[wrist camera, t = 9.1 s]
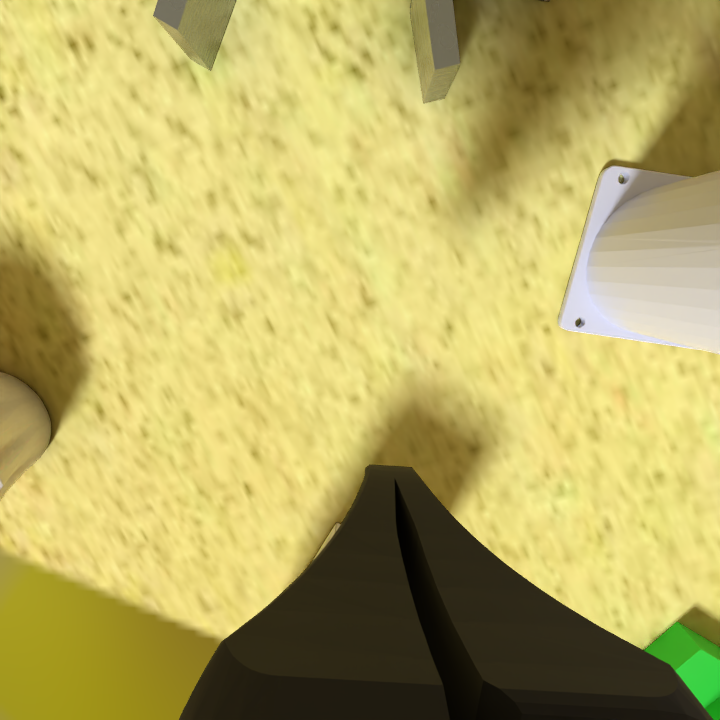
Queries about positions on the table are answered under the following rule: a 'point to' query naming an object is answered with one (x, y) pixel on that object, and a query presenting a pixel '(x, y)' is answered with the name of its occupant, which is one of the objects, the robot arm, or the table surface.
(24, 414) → the cupcake
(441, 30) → the motor bracket
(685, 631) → the mechanical part
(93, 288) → the table surface
